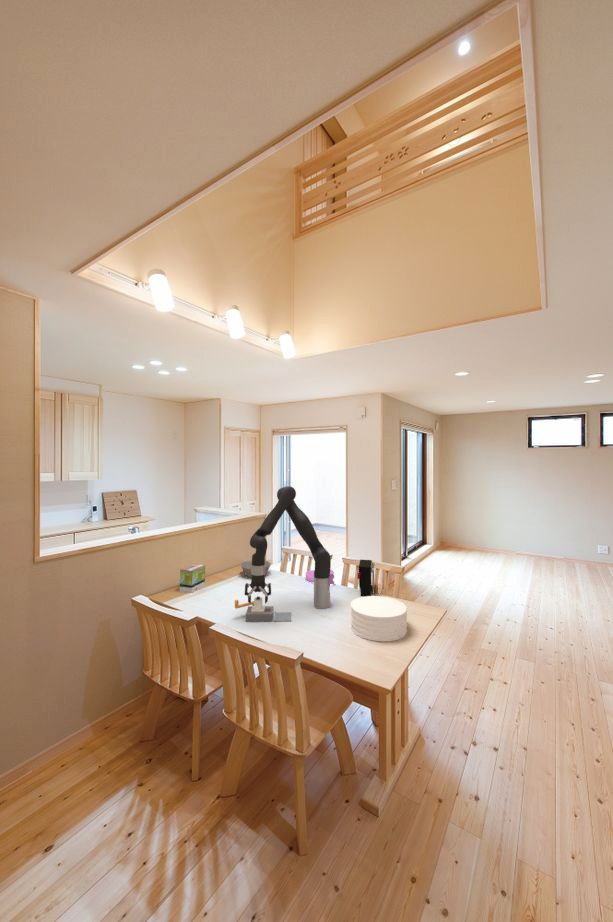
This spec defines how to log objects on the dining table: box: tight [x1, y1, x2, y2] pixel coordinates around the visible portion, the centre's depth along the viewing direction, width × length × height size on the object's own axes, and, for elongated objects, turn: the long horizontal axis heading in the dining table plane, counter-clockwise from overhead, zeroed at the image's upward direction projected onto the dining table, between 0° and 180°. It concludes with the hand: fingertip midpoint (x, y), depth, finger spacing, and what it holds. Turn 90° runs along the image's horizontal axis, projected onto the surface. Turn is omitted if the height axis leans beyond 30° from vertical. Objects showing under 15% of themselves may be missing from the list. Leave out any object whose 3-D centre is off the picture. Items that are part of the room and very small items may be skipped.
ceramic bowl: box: [239, 560, 272, 579], centre depth 271 cm, size 22×23×10 cm
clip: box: [234, 599, 254, 609], centre depth 202 cm, size 2×12×5 cm, turn 126°
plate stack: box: [350, 595, 408, 643], centre depth 188 cm, size 28×28×12 cm
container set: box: [305, 569, 335, 585], centre depth 256 cm, size 25×15×13 cm, turn 36°
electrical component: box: [357, 559, 375, 597], centre depth 236 cm, size 18×10×20 cm, turn 168°
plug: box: [251, 595, 266, 613], centre depth 200 cm, size 7×7×11 cm
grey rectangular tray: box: [245, 605, 275, 623], centre depth 200 cm, size 14×11×4 cm
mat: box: [273, 611, 292, 623], centre depth 200 cm, size 9×11×1 cm
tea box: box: [179, 563, 206, 594], centre depth 246 cm, size 15×10×15 cm, turn 162°
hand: (257, 602), depth 200 cm, fingers open, 8 cm apart
